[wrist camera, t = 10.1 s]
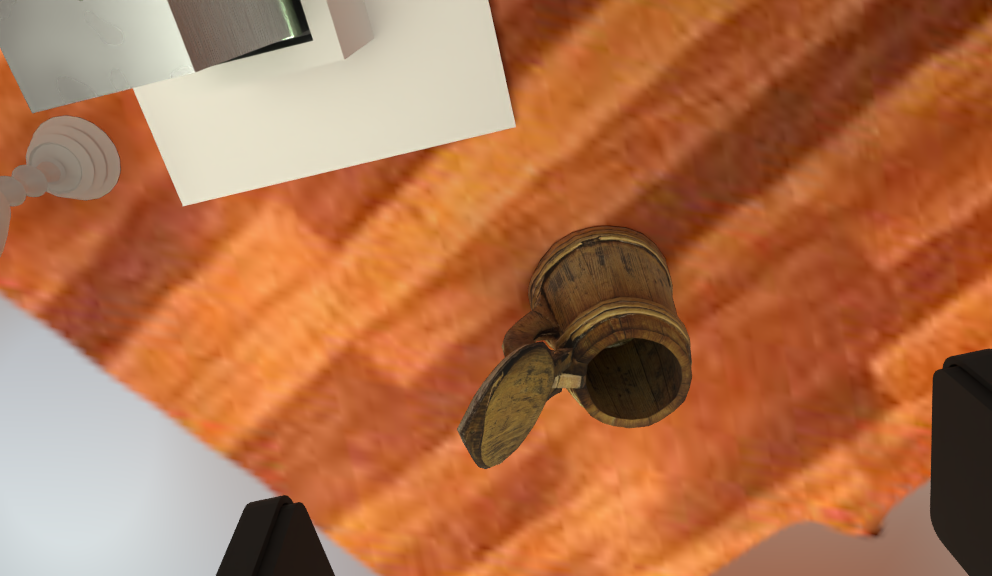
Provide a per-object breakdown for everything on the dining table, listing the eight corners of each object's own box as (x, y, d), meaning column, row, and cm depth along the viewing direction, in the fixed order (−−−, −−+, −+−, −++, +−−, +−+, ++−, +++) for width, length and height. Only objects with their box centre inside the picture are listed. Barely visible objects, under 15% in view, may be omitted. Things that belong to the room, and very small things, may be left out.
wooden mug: (474, 202, 44) (474, 340, 28) (685, 237, 46) (804, 388, 29) (452, 330, 48) (441, 519, 31) (649, 358, 49) (736, 554, 33)
